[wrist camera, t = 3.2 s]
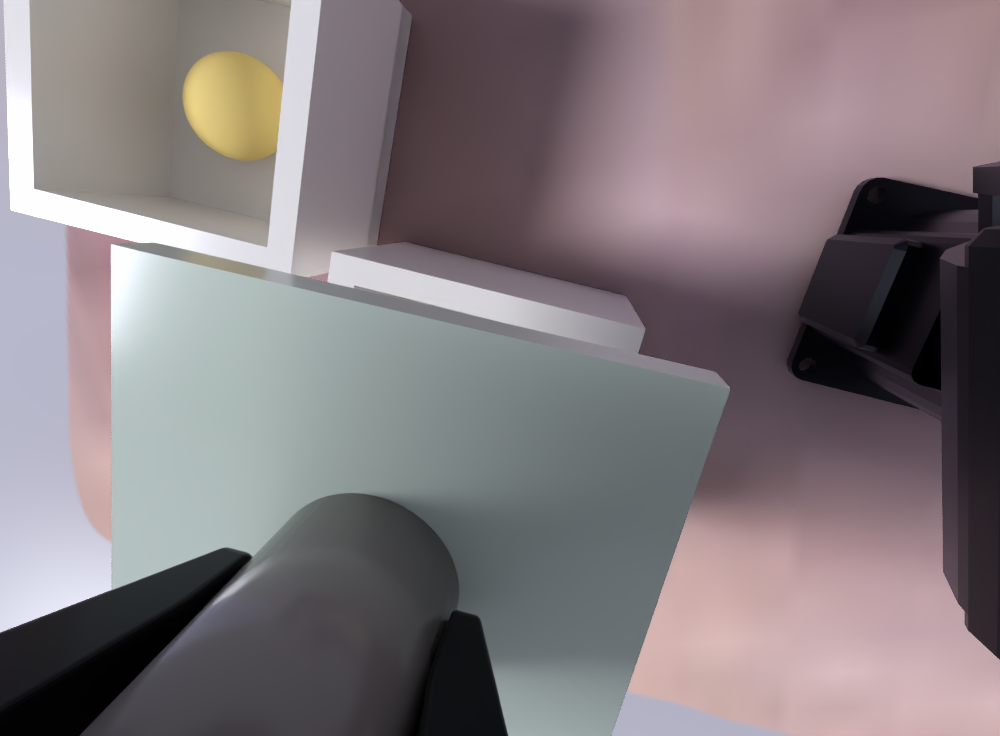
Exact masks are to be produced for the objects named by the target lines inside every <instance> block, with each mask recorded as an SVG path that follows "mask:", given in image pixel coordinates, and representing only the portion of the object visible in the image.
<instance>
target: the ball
mask: <svg viewBox="0 0 1000 736" xmlns="http://www.w3.org/2000/svg"><path fill="white" fill-rule="evenodd" d="M282 92H283V84H282V82H281V81H280V79H279V78H278V76H277V75H276V74H275V73H274V72H273V71H272V70H271V69H270V68H269V67H268V66H266V65H265V64H264V63H262V62H261V61H259V60H258V59H256V58H254V57H252V56H250V55H247V54H244V53H240V52H234V51H220V52H214V53H211V54H209V55H207V56H205V57H203V58H201V59H200V60H198V61H197V62H196V63H195V64H194V65H193V66H192V68H191V69H190V71H189V72H188V74H187V76H186V78H185V81H184V85H183V91H182V100H183V107H184V111H185V114H186V117H187V120H188V122H189V124H190V126H191V127H192V129H193V130H194V132H195V133H196V134H197V136H198V137H199V138H200V139H201V140H202V141H203V142H204V143H205V144H206V145H207V146H209V147H210V148H211V149H213V150H214V151H216V152H217V153H219V154H221V155H223V156H226V157H229V158H232V159H235V160H241V161H253V160H259V159H262V158H265V157H268V156H270V155H271V154H273V153H274V152H276V151H277V143H278V133H279V123H280V112H281V102H282Z"/></svg>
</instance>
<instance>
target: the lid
mask: <svg viewBox="0 0 1000 736" xmlns="http://www.w3.org/2000/svg"><path fill="white" fill-rule="evenodd" d="M730 389H731V388H730V387H729V386H728V385H727V384H726V383H725V381H724V380H723V379H722V378H721V377H720V376H719V375H718V374H717V373H716V372H715V371H711V370H706V369H702V368H698V367H693V366H689V365H685V364H680V363H676V362H672V361H667V360H663V359H658V358H654V357H650V356H645V355H641V354H637V353H632V352H628V351H624V350H619V349H615V348H611V347H606V346H602V345H598V344H593V343H589V342H585V341H580V340H576V339H572V338H567V337H563V336H559V335H554V334H550V333H546V332H541V331H537V330H533V329H528V328H524V327H520V326H515V325H511V324H507V323H502V322H498V321H494V320H489V319H485V318H481V317H476V316H472V315H468V314H463V313H459V312H455V311H450V310H446V309H442V308H437V307H433V306H429V305H424V304H420V303H416V302H411V301H407V300H403V299H398V298H394V297H390V296H385V295H381V294H377V293H372V292H368V291H364V290H359V289H355V288H351V287H346V286H342V285H338V284H333V283H329V282H325V281H320V280H316V279H312V278H307V277H303V276H298V275H294V274H290V273H285V272H281V271H277V270H272V269H268V268H264V267H259V266H255V265H251V264H246V263H242V262H238V261H233V260H229V259H225V258H220V257H216V256H212V255H207V254H203V253H199V252H194V251H190V250H186V249H181V248H177V247H173V246H168V245H164V244H160V243H155V242H147V243H128V244H111V509H112V590H113V589H116V588H118V587H121V586H123V585H126V584H129V583H131V582H134V581H137V580H139V579H142V578H144V577H147V576H150V575H152V574H155V573H157V572H160V571H163V570H165V569H168V568H171V567H173V566H176V565H178V564H181V563H184V562H186V561H189V560H192V559H194V558H197V557H199V556H202V555H205V554H207V553H210V552H212V551H215V550H218V549H221V548H224V547H228V548H233V549H237V550H240V551H244V552H248V553H249V554H251V555H252V558H251V559H250V560H249V561H248V562H247V563H246V564H245V565H244V566H243V567H242V568H241V570H240V571H239V572H238V573H237V574H236V575H235V576H234V577H233V578H232V579H231V580H230V581H229V582H228V583H227V584H226V585H225V586H224V587H223V588H222V589H221V590H220V591H219V592H218V593H217V594H216V595H215V596H214V597H213V598H212V599H211V600H210V601H209V603H208V604H207V605H206V606H205V607H204V608H203V609H202V610H201V611H200V612H199V613H198V614H197V615H196V616H195V617H194V618H193V619H192V620H191V621H190V622H189V623H188V624H187V625H186V626H185V627H184V628H183V629H182V630H181V631H180V632H179V633H178V634H177V635H176V637H175V638H174V639H173V640H172V641H171V642H170V643H169V644H168V645H167V646H166V647H165V648H164V649H163V650H162V651H161V652H160V653H159V654H158V655H157V656H156V657H155V658H154V659H153V660H152V661H151V662H150V663H149V664H148V665H147V666H146V667H145V668H144V670H143V671H142V672H141V673H140V674H139V675H138V676H137V677H136V678H135V679H134V680H133V681H132V682H131V683H130V684H129V685H128V686H127V687H126V688H125V689H124V690H123V691H122V692H121V693H120V694H119V695H118V696H117V697H116V698H115V699H114V700H113V701H112V703H111V704H110V705H109V706H108V707H107V708H106V709H105V710H104V711H103V712H102V713H101V714H100V715H99V716H98V717H97V718H96V719H95V720H94V721H93V722H92V723H91V724H90V725H89V726H88V727H87V728H86V729H85V730H84V731H83V732H82V733H81V734H80V736H416V735H417V730H418V725H419V720H420V715H421V711H422V706H423V701H424V696H425V691H426V686H427V682H428V677H429V673H430V670H431V667H432V664H433V661H434V658H435V655H436V653H437V650H438V647H439V644H440V642H441V639H442V636H443V633H444V631H445V628H446V625H447V622H448V620H449V617H450V614H451V612H452V611H454V610H459V611H463V612H466V613H470V614H474V615H477V616H478V617H479V618H480V619H481V622H482V626H483V631H484V635H485V639H486V643H487V648H488V652H489V656H490V660H491V664H492V669H493V673H494V677H495V681H496V686H497V690H498V694H499V698H500V703H501V707H502V711H503V715H504V719H505V724H506V728H507V732H508V736H611V735H612V732H613V729H614V727H615V724H616V721H617V718H618V715H619V712H620V709H621V706H622V703H623V700H624V697H625V694H626V692H627V689H628V686H629V683H630V680H631V677H632V674H633V671H634V668H635V665H636V663H637V660H638V657H639V654H640V651H641V648H642V645H643V642H644V639H645V636H646V633H647V631H648V628H649V625H650V622H651V619H652V616H653V613H654V610H655V607H656V604H657V601H658V599H659V596H660V593H661V590H662V587H663V584H664V581H665V578H666V575H667V572H668V569H669V567H670V564H671V561H672V558H673V555H674V552H675V549H676V546H677V543H678V540H679V537H680V535H681V532H682V529H683V526H684V523H685V520H686V517H687V514H688V511H689V508H690V505H691V503H692V500H693V497H694V494H695V491H696V488H697V485H698V482H699V479H700V476H701V473H702V471H703V468H704V465H705V462H706V459H707V456H708V453H709V450H710V447H711V444H712V441H713V439H714V436H715V433H716V430H717V427H718V424H719V421H720V418H721V415H722V412H723V409H724V407H725V404H726V401H727V398H728V395H729V392H730Z"/></svg>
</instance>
